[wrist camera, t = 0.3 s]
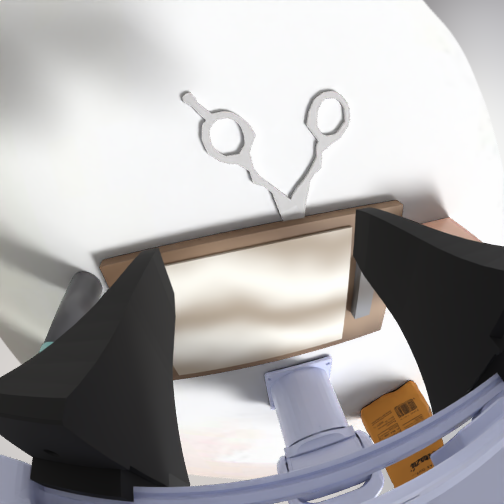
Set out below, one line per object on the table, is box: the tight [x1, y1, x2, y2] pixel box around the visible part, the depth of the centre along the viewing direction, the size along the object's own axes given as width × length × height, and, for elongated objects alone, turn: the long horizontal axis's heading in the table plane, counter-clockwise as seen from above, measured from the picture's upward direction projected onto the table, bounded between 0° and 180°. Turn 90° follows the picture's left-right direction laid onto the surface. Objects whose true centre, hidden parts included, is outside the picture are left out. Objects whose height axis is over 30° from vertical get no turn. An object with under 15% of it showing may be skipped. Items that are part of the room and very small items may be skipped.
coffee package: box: [361, 381, 443, 488], centre depth 35 cm, size 10×12×22 cm
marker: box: [39, 272, 102, 353], centre depth 17 cm, size 3×3×9 cm
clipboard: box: [99, 200, 403, 380], centre depth 24 cm, size 15×24×2 cm, turn 98°
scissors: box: [182, 91, 350, 221], centre depth 21 cm, size 11×1×20 cm
